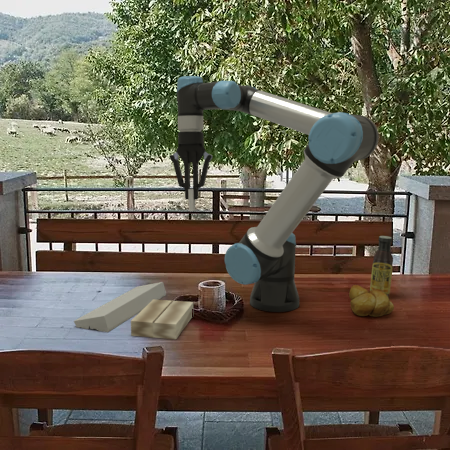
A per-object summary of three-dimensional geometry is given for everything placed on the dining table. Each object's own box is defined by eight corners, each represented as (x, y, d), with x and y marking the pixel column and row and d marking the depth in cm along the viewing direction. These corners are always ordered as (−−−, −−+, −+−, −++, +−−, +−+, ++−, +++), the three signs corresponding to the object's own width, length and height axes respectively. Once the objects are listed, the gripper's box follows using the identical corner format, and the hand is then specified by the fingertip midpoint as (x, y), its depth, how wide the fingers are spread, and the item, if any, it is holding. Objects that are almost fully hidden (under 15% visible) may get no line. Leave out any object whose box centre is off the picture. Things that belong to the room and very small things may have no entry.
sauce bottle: (368, 298, 164) (372, 237, 161) (370, 292, 170) (374, 234, 167) (389, 300, 162) (393, 239, 159) (391, 295, 168) (395, 235, 164)
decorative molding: (78, 338, 137) (109, 333, 134) (73, 321, 137) (104, 315, 133) (140, 300, 169) (166, 296, 165) (136, 286, 169) (163, 281, 165)
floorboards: (193, 315, 147) (193, 301, 146) (176, 339, 130) (175, 323, 129) (153, 312, 149) (153, 298, 148) (131, 335, 132) (130, 319, 131)
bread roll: (390, 309, 154) (392, 284, 153) (397, 320, 145) (399, 293, 143) (347, 307, 155) (348, 282, 154) (351, 318, 146) (352, 291, 145)
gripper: (214, 131, 153) (215, 209, 157) (172, 131, 155) (174, 208, 159) (210, 130, 146) (211, 212, 150) (165, 131, 148) (167, 211, 152)
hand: (192, 210), depth 154 cm, fingers closed
